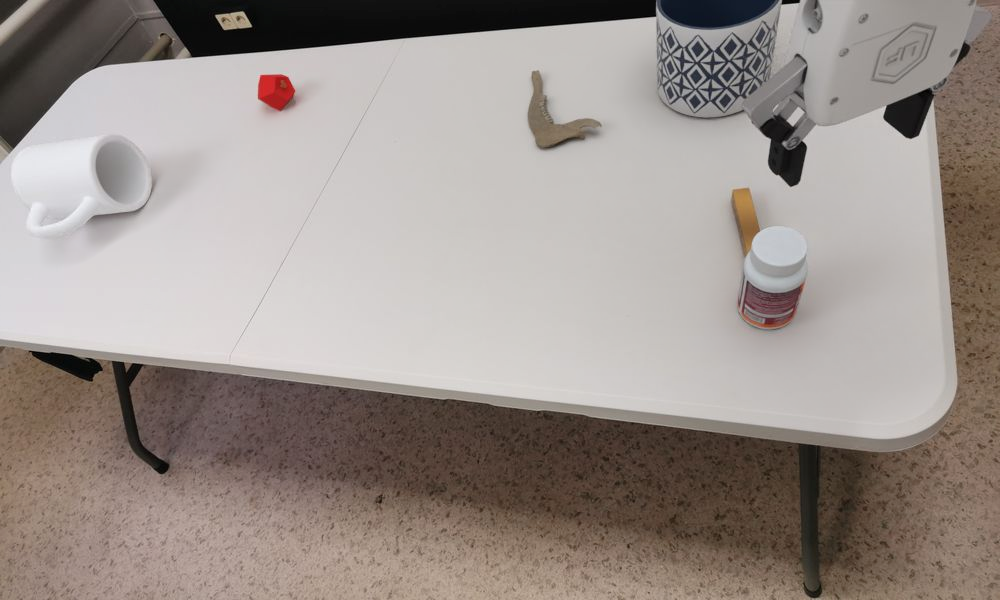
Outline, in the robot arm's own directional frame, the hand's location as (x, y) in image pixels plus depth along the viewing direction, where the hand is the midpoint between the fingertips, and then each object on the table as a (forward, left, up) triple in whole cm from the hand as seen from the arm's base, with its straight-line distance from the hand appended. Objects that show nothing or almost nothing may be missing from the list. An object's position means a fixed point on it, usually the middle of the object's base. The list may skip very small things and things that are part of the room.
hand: (841, 151), depth 48 cm
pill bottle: (+1, -3, -25) cm, 26 cm away
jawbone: (+8, -49, -25) cm, 56 cm away
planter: (-13, -41, -25) cm, 50 cm away
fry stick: (-2, -13, -25) cm, 28 cm away
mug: (+88, -67, -25) cm, 114 cm away
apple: (+53, -80, -25) cm, 99 cm away
